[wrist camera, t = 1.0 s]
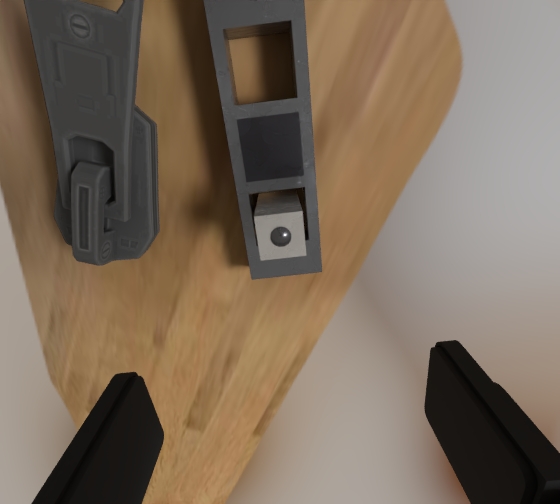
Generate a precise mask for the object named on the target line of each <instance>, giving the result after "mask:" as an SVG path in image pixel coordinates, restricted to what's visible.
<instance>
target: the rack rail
mask: <svg viewBox="0 0 560 504" xmlns="http://www.w3.org/2000/svg"><path fill="white" fill-rule="evenodd" d="M204 6H205V12H206V18H207V23H208V29H209V35H210V41H211V47H212V52H213V58H214V64H215V70H216V76H217V81H218V87H219V93H220V99H221V105H222V110H223V116H224V122H225V128H226V134H227V139H228V145H229V151H230V157H231V163H232V168H233V174H234V180H235V186H236V192H237V197H238V203H239V209H240V215H241V221H242V226H243V232H244V238H245V244H246V250H247V255H248V261H249V267H250V273H251V279H252V280H253V279H262V278H271V277H280V276H289V275H298V274H308V273H317V272H322V263H321V248H320V233H319V218H318V203H317V188H316V173H315V157H314V142H313V127H312V112H311V97H310V82H309V67H308V52H307V36H306V21H305V6H304V0H204ZM284 32H290V44H291V56H292V67H293V79H294V91H295V98H292V99H284V100H276V101H268V102H260V103H252V104H245V105H238V100H237V93H236V87H235V80H234V74H233V67H232V60H231V54H230V47H229V41H228V40H231V39H239V38H246V37H254V36H261V35H269V34H276V33H284ZM301 187H303V198H304V210H305V221H306V230H304V234H305V245H306V256H299V257H290V258H281V259H272V260H263V261H261V260H260V253H259V247H258V240H257V234H256V228H255V221H254V214H255V211H254V205H253V198H252V193H258V192H267V191H275V190H284V189H292V188H301Z"/></svg>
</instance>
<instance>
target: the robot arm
mask: <svg viewBox="0 0 560 504" xmlns="http://www.w3.org/2000/svg"><path fill="white" fill-rule="evenodd" d="M425 414H426V417H427V419H428V421H429V423H430V425H431V427H432V429H433V431H434V433H435V435H436V437H437V439H438V441H439V442H440V444H441V447H442V448H443V450H444V452H445V454H446V456H447V458H448V460H449V462H450V464H451V466H452V468H453V470H454V471H455V474H456V476H457V478H458V480H459V481H460V483H461V485H462V487H463V489H464V491H465V493H466V495H467V497H468V499H469V501H470V503H471V504H560V453H559V452H558V451H557V450H556V448H555V447H554V446H553V445H552V444H551V443H550V442H549V440H548V439H547V438H546V437H545V436H544V435H543V434H542V432H541V431H540V430H539V429H538V428H537V426H536V425H535V424H534V423H533V422H532V421H531V420H530V418H529V417H528V416H527V415H526V414H525V413H524V412H523V411H522V409H521V408H520V407H519V406H518V405H517V403H515V402H514V400H513V399H512V398H511V396H510V395H509V394H508V393H507V392H506V391H505V390H504V389H503V388H502V387H501V386H500V385H499V384H497V383H495V382H493V381H492V380H491V379H490V378H489V376H487V374H486V373H485V372H484V371H483V369H482V368H481V367H480V366H479V365H478V363H476V361H475V360H474V359H473V358H472V356H471V355H470V354H469V353H468V352H467V350H466V349H465V348H464V347H463V346H462V345H461V344H460V343H459V342H458V341H456V340H453V341H443V342H437V343H436V345H435V347H433V348H431V350H430V360H429V369H428V378H427V388H426V397H425ZM163 440H164V432H163V429H162V426H161V424H160V421H159V418H158V416H157V413H156V411H155V408H154V405H153V403H152V400H151V398H150V395H149V392H148V390H147V387H146V385H145V382H144V379H143V378H142V377H141V376H138V374H137V373H136V372H129V373H119V374H116V375H114V377H113V378H112V379H111V381H110V383H109V384H108V386H107V387H106V389H105V390H104V392H103V393H102V395H101V397H100V398H99V400H98V401H97V403H96V404H95V406H94V407H93V409H92V410H91V412H90V414H89V415H88V417H87V418H86V420H85V421H84V423H83V424H82V426H81V428H80V429H79V431H78V432H77V434H76V435H75V437H74V438H73V440H72V442H71V443H70V445H69V446H68V448H67V449H66V451H65V452H64V454H63V456H62V457H61V459H60V460H59V462H58V463H57V465H56V466H55V468H54V469H53V471H52V473H51V474H50V476H49V477H48V479H47V480H46V482H45V483H44V485H43V487H42V488H41V490H40V491H39V493H38V494H37V496H36V497H35V499H34V501H33V502H32V504H142V501H143V498H144V496H145V493H146V490H147V487H148V484H149V481H150V479H151V476H152V473H153V470H154V467H155V464H156V462H157V459H158V456H159V453H160V450H161V447H162V445H163Z"/></svg>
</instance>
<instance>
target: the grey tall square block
mask: <svg viewBox="0 0 560 504" xmlns="http://www.w3.org/2000/svg"><path fill="white" fill-rule="evenodd" d="M254 221H255V228H256V234H257V240H258V247H259V253H260V260H261V261H263V260H272V259H281V258H290V257H299V256H306V245H305V234H304V222H303V211H302V208H301V205H300V201H299V198H298V195H297V192H296V189H291V190H282V191H274V192H265V193H259V195H258V200H257V205H256V209H255V214H254Z"/></svg>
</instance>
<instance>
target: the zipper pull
mask: <svg viewBox="0 0 560 504" xmlns="http://www.w3.org/2000/svg"><path fill="white" fill-rule="evenodd" d="M143 1H144V0H123V3H122V5H121V6H120V8H119V9H118V11H117V12H115V11H112V10H108V9H105V8H102V7H98V6H95V5H91V4H88V3H85V2H81V1H78V0H24V4H25V8H26V13H27V18H28V23H29V27H30V32H31V37H32V41H33V46H34V51H35V56H36V60H37V65H38V70H39V75H40V79H41V84H42V89H43V93H44V98H45V103H46V108H47V112H48V117H49V122H50V126H51V132H52V139H53V146H54V152H55V159H56V166H57V173H58V180H57V191H56V201H55V211H54V218H55V220H56V222H57V225H58V227H59V229H60V231H61V233H62V235H63V237H64V240H65V242H66V243H67V244H69V245H71V246H72V248H73V256H74V258H75V259H76V260H77V261H79V262H84V263H89V264H94V265H104V264H107V263H109V262H111V261H114V260H126V259H138V258H140V257H141V256H142V255H143V254H144V253H145V252H146V251H147V250H148V249H149V247H150V245H151V244H152V242H153V241H154V239H155V237H156V236H157V234H158V233H159V230H160V229H159V204H158V148H157V125H156V123H155V122H154V121H153V120H152V119H150V118H149V117H148V116H147V115H146V114H145V113H144V112H143V111H141V110H140V109H139V108H138V107H137V106H136V105H135V95H136V83H137V70H138V57H139V44H140V32H141V21H142V12H143Z"/></svg>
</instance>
